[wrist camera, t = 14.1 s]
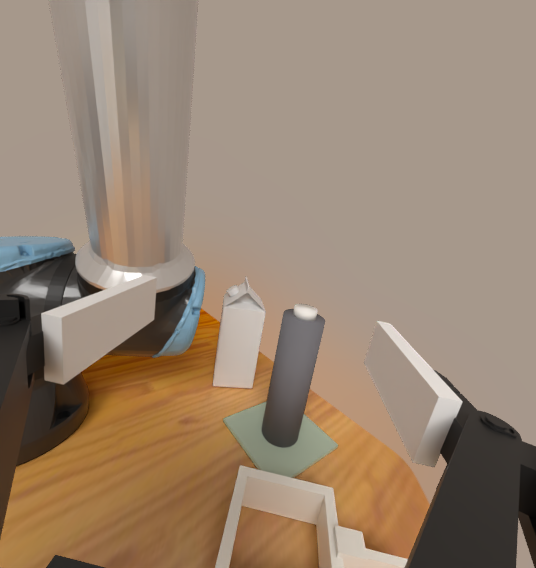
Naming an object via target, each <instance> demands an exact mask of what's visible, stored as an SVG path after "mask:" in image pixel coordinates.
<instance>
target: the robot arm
mask: <svg viewBox="0 0 536 568" xmlns="http://www.w3.org/2000/svg"><path fill="white" fill-rule="evenodd" d="M49 6H50V12H51V17H52V23H53V28H54V34H55V40H56V46H57V52H58V57H59V64H60V70H61V75H62V81H63V87H64V93H65V98H66V104H67V110H68V115H69V121H70V127H71V133H72V139H73V145H74V151H75V157H76V162H77V168H78V174H79V180H80V186H81V191H82V197H83V203H84V209H85V215H86V220H87V226H88V232H89V238H90V241H89V242H87V243H86V244H85V245H84V246H83V247H81V249H80V250H79V251H78V253H77V254H74V253H73V251H75V248H74V247H73V244H72V242H71V241H70V240H68V239H62V238H57V237H36V236H35V237H34V236H32V237H31V236H29V237H28V236H24V237H23V236H22V237H20V236H19V237H0V538H1V533H2V528H3V524H4V519H5V515H6V510H7V505H8V501H9V496H10V492H11V487H12V482H13V478H14V473H15V468H16V466H17V465H20V464H22V463H25V462H27V461H29V460H31V459H33V458H35V457H38V456H39V455H41V454H43V453H45V452H47V451H49V450H50V449H52V448H53V447H55V446H57V445H58V444H59V443H61V442H62V441H64V440H65V439H66V438H67V437H69V436H70V435H71V434H72V433H73V432H74V431H75V430H76V429H77V428H78V427H79V426H80V424H81V423H82V422H83V420H84V418H85V417H86V415H87V412H88V408H89V391H88V387H87V384H86V382H85V380H84V378H83V376H82V374H81V372H82V371H83V370H85V369H86V368H87V367H89V366H90V365H92V364H93V363H94V362H96V361H97V360H99V359H100V358H101V357H103V356H104V355H118V356H145V357H153V358H156V357H159V356H173V355H180V354H183V353H184V352H185V351H187V350H188V348H189V347H190V345H191V343H192V341H193V338H194V335H195V332H196V329H197V325H198V321H199V316H200V312H199V311H200V310H201V305H202V301H203V296H204V288H205V272H204V271H203V270H202V269H200V268H198V267H196V266H195V260H194V257H193V254H192V253H191V251H190V250H189V249H188V247H186V246H185V245H184V244H183V243H182V242H183V227H184V212H185V196H186V181H187V166H188V150H189V135H190V120H191V103H192V88H193V74H194V58H195V43H196V27H197V12H198V0H49ZM364 364H365V366H366V368H367V370H368V372H369V374H370V376H371V378H372V380H373V382H374V384H375V387H376V389H377V391H378V393H379V395H380V397H381V399H382V401H383V403H384V405H385V407H386V409H387V411H388V413H389V415H390V417H391V419H392V421H393V423H394V425H395V427H396V430H397V431H398V434H399V436H400V438H401V440H402V442H403V444H404V446H405V448H406V450H407V452H408V454H409V456H410V458H411V460H412V462H413V463H417V464H422V465H426V466H431V467H435V465H436V463H437V461H438V458H439V456H440V454H442V456H443V458H444V459H445V461H446V462H447V466H446V468H445V470H444V473H443V475H442V477H441V479H440V482H439V484H438V486H437V488H436V492H435V495H434V497H433V499H432V502H431V504H430V507H429V509H428V512H427V514H426V517H425V519H424V521H423V524H422V526H421V529H420V531H419V534H418V536H417V538H416V541H415V543H414V546H413V548H412V551H411V553H410V556H409V558H408V560H407V563H406V565H405V568H516V554H517V532H518V531H517V530H518V518H519V521H520V524H521V527H522V529H523V533H524V536H525V539H526V542H527V545H528V548H529V552H530V554H531V558H532V560H533V564H534V567H535V568H536V446H533V445H530V444H528V443H525V442H522V439H521V437H520V434H519V433H518V432H517V431H516V430H515V429H514V428H512V427H511V426H510V425H509V424H507V423H506V422H504V421H503V420H501V419H499V418H497V417H496V416H493V415H491V414H489V413H486V412H482V411H477V409H476V408H474V406H473V405H472V404H471V403H470V402H469V401H468V400H467V399H466V398H465V397H464V396H463V395H462V394H460V392H459V391H458V390H457V389H456V388H455V387H454V386H453V385H452V384H451V382H450V381H449V380H448V379H447V378H445V377H444V376H442V375H441V374H440V373H438V372H437V371H435V370H433V369H432V368H431V367H430V366H429V365H428V364H427V363H426V362H425V361H424V359H423V358H422V357H421V356H420V355H419V354H418V353H417V352H416V351H415V350H414V349H413V348H412V347H411V345H410V344H409V343H408V342H407V341H406V340H405V339H404V338H403V337H402V336H401V335H400V334H399V333H398V332H397V330H396V329H395V328H394V327H393V326H392V325H391V324H390V323H385V322H380V321H377V322H376V325H375V328H374V331H373V335H372V338H371V341H370V345H369V348H368V352H367V355H366V358H365V361H364ZM46 568H104V567H101V566H97V565H93V564H89V563H85V562H81V561H77V560H73V559H70V558H66V557H62V556H58V555H55V556H54V557H53V559H52V560H51V562H50V563H49V564H48V566H47V567H46Z"/></svg>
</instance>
